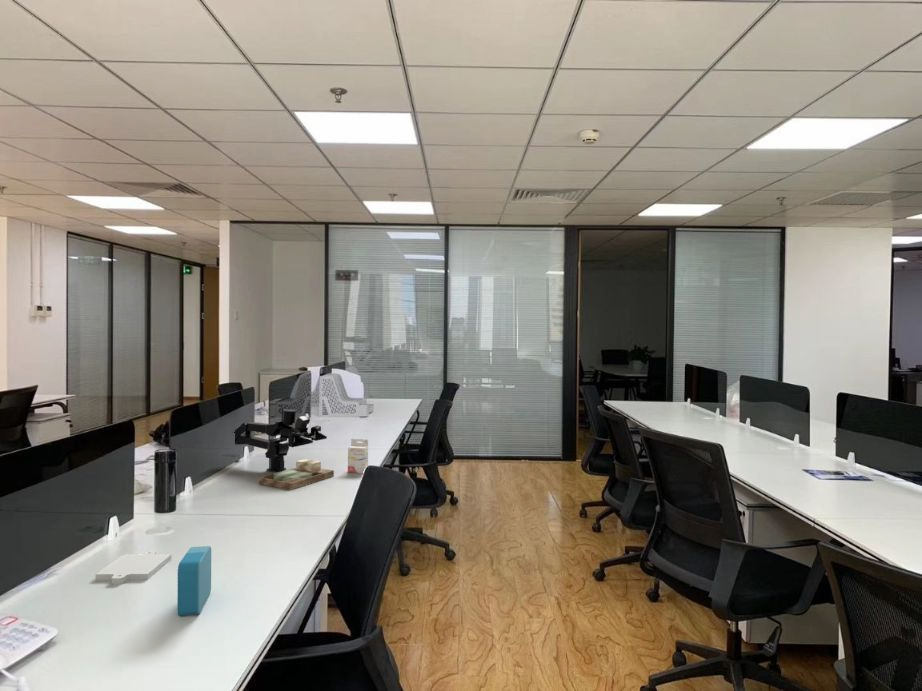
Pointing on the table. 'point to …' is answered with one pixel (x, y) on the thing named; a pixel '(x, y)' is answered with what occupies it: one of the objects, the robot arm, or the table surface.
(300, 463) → the maple slab
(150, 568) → the mounting plate
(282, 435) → the robot arm
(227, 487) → the table surface
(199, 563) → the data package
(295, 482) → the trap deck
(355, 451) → the ink cartridge box
